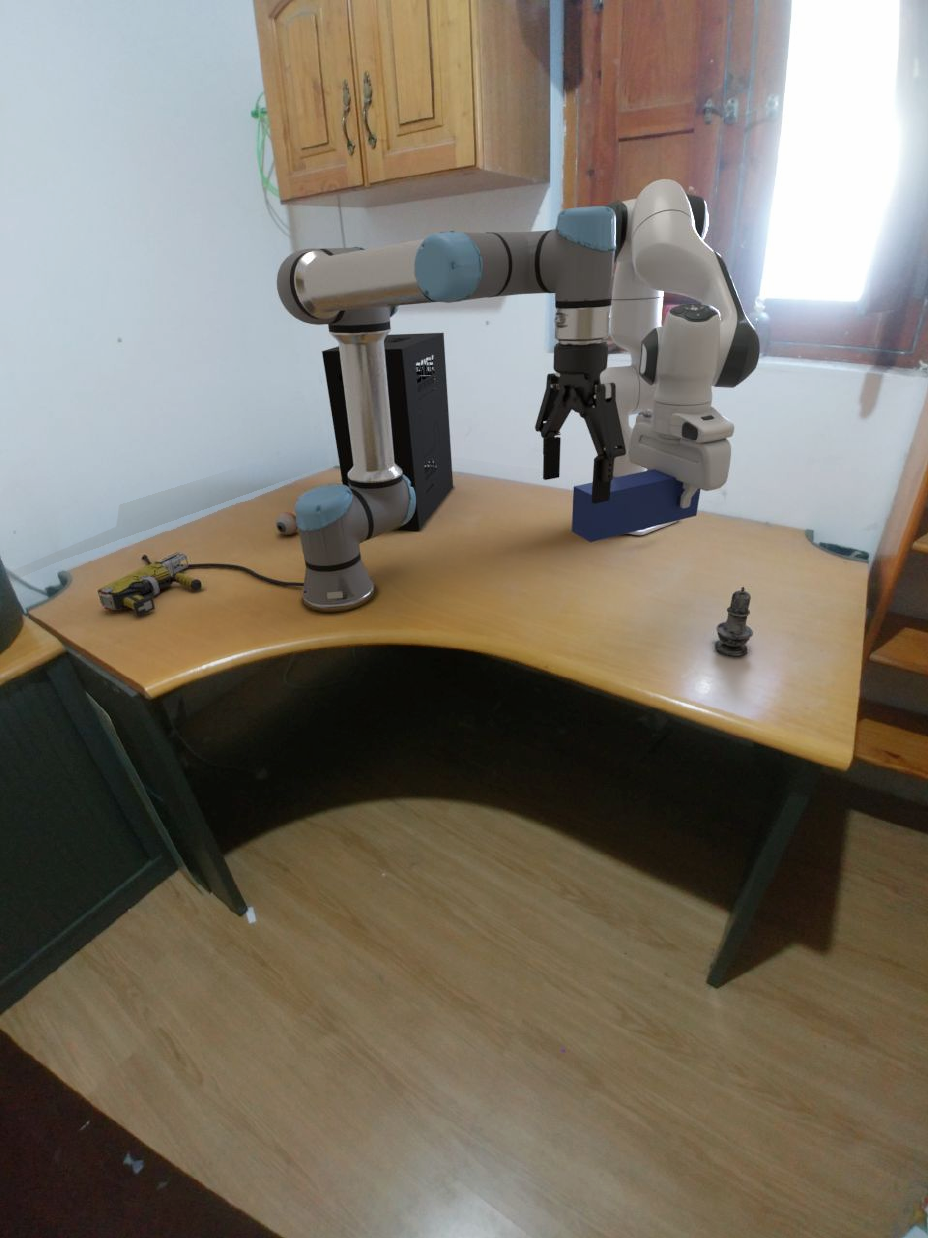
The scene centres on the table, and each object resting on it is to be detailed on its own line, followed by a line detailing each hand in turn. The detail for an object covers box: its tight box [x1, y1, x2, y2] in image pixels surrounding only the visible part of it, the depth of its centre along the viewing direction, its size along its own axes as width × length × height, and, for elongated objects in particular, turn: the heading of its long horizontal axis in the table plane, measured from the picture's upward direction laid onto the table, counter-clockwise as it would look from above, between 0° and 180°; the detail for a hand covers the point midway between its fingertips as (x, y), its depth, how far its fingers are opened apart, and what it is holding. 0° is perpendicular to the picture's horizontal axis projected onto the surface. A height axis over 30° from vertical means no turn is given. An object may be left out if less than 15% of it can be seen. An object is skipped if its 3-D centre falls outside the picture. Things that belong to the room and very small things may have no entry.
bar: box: [571, 469, 701, 543], centre depth 101 cm, size 22×5×8 cm, turn 115°
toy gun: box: [97, 551, 203, 617], centre depth 137 cm, size 5×24×15 cm
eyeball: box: [275, 511, 298, 536], centre depth 163 cm, size 6×6×6 cm
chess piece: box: [714, 586, 754, 657], centre depth 103 cm, size 6×6×12 cm
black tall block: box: [321, 332, 454, 532], centre depth 169 cm, size 38×20×45 cm, turn 167°
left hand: (574, 489), depth 95 cm, fingers open, 13 cm apart
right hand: (669, 500), depth 104 cm, fingers closed on bar, 5 cm apart
